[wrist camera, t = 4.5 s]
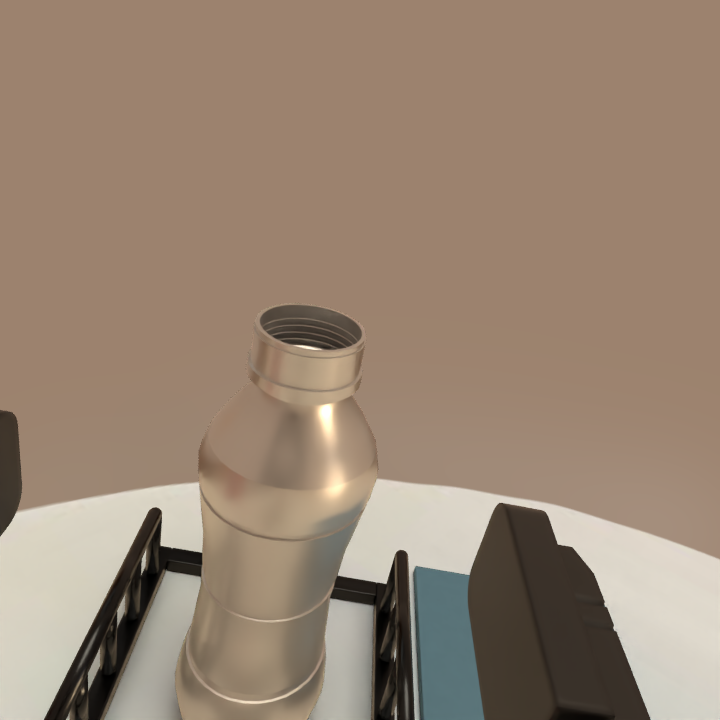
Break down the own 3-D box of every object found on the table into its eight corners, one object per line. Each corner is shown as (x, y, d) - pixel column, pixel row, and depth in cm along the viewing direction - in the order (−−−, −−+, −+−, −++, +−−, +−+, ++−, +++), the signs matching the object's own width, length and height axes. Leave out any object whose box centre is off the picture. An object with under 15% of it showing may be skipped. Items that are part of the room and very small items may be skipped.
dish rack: (154, 554, 36) (158, 482, 34) (390, 594, 37) (411, 527, 34) (3, 889, 22) (-10, 808, 19) (392, 943, 23) (427, 871, 20)
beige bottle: (154, 674, 30) (176, 290, 21) (281, 626, 33) (347, 282, 24) (200, 807, 25) (254, 391, 16) (341, 734, 29) (451, 363, 20)
